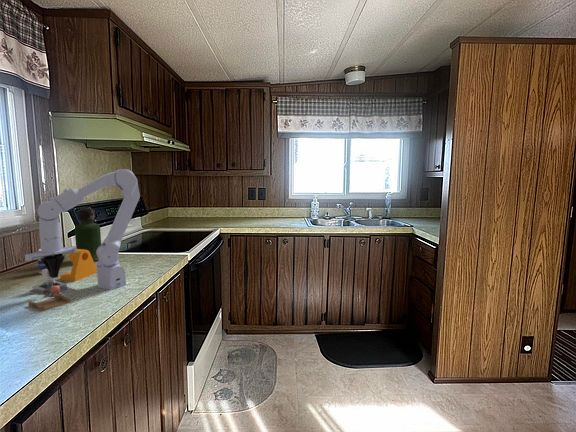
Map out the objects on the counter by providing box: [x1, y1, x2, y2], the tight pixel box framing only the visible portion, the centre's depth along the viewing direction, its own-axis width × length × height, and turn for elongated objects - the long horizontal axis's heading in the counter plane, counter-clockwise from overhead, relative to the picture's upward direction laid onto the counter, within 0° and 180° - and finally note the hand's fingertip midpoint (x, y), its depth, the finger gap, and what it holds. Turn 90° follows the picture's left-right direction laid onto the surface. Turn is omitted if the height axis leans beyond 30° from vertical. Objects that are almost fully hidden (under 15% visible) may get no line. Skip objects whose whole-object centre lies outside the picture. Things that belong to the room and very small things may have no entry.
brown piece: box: [27, 294, 71, 312], centre depth 102 cm, size 8×8×2 cm
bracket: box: [59, 249, 97, 282], centre depth 129 cm, size 11×7×12 cm, turn 169°
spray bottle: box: [74, 207, 102, 262], centre depth 155 cm, size 10×10×25 cm
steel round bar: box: [41, 269, 57, 289], centre depth 115 cm, size 4×4×7 cm
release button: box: [50, 285, 61, 296], centre depth 110 cm, size 2×2×2 cm
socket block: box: [31, 280, 77, 299], centre depth 114 cm, size 14×8×2 cm, turn 61°
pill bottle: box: [37, 248, 47, 275], centre depth 137 cm, size 6×6×10 cm
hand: (54, 277), depth 110 cm, fingers closed
